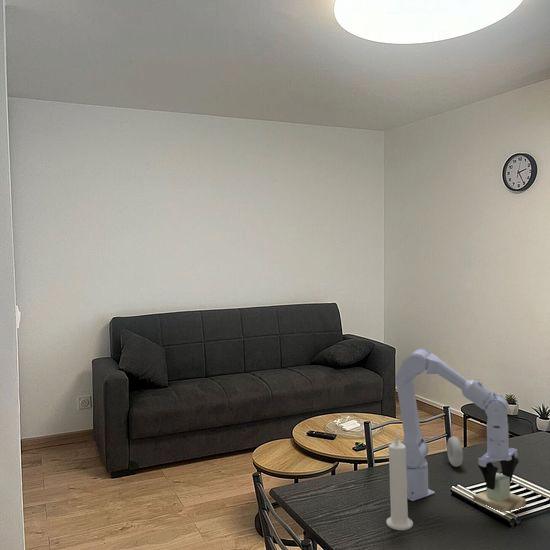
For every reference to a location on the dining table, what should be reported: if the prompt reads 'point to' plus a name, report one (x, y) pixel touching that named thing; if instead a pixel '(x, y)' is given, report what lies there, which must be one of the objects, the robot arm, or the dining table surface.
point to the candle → (398, 487)
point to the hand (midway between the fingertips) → (498, 485)
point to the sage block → (500, 488)
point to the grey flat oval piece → (455, 451)
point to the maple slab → (502, 506)
